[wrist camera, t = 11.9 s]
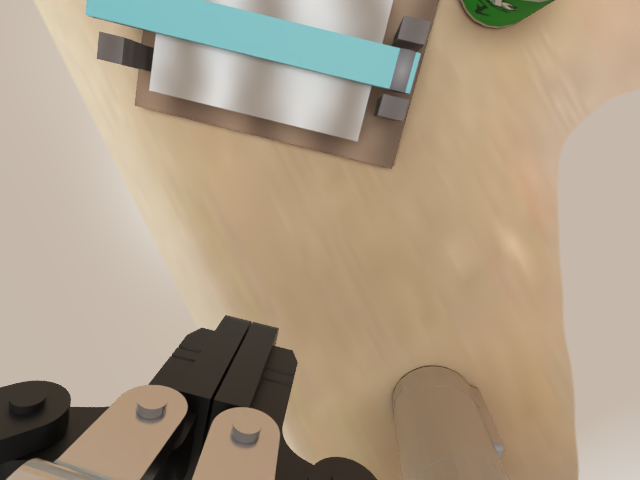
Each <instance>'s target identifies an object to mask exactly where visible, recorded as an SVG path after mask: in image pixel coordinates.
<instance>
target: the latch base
mask: <svg viewBox="0 0 640 480" xmlns="http://www.w3.org/2000/svg"><path fill="white" fill-rule="evenodd" d="M204 1H208V2H213V3H217V4H221V5H225V6H229V7H233V8H237V9H241V10H245V11H249V12H254V13H258V14H262V15H266V16H270V17H274V18H278V19H282V20H286V21H290V22H295V23H299V24H303V25H307V26H311V27H315V28H319V29H323V30H327V31H331V32H336V33H340V34H344V35H348V36H352V37H356V38H360V39H364V40H368V41H372V42H377V43H381V44H385V45H389V46H393V47H397V48H403V49H408V50H412V51H415V52H418V53H421V55H420V59H419V62H418V66H417V70H416V73H415V77H414V80H413V84H412V88H411V91H410V94H404V93H399V92H394V91H391V90H387V89H383V88H379V87H375V86H371V85H367V84H363V83H359V82H355V81H351V80H346V79H342V78H338V77H334V76H330V75H326V74H322V73H318V72H314V71H310V70H306V69H301V68H297V67H293V66H289V65H285V64H281V63H277V62H273V61H269V60H265V59H261V58H256V57H252V56H248V55H244V54H240V53H236V52H232V51H228V50H224V49H220V48H216V47H211V46H207V45H203V44H199V43H195V42H191V41H187V40H183V39H179V38H175V37H171V36H166V35H162V34H158V33H154V32H150V31H146V30H143V36H142V44H141V43H138V42H135V41H132V40H129V39H127V38H124V37H120V36H115V35H111V34H107V33H103V32H99V41H98V53H97V59H101V60H105V61H109V62H113V63H117V64H121V65H125V66H129V67H134V68H138V69H139V72H138V81H137V90H136V99H135V106H139V107H143V108H147V109H151V110H155V111H159V112H163V113H167V114H171V115H175V116H179V117H183V118H187V119H191V120H196V121H200V122H204V123H208V124H212V125H216V126H220V127H224V128H228V129H232V130H236V131H240V132H244V133H248V134H252V135H257V136H261V137H265V138H269V139H273V140H277V141H281V142H285V143H289V144H293V145H297V146H301V147H305V148H309V149H313V150H318V151H322V152H326V153H330V154H334V155H338V156H342V157H346V158H350V159H354V160H358V161H362V162H366V163H370V164H374V165H378V166H383V167H387V168H391V169H392V167H393V163H394V159H395V156H396V152H397V149H398V145H399V141H400V138H401V134H402V131H403V127H404V124H405V120H406V116H407V113H408V109H409V106H410V102H411V99H412V95H413V91H414V88H415V84H416V81H417V77H418V73H419V70H420V66H421V63H422V59H423V56H424V52H425V48H426V45H427V41H428V38H429V34H430V31H431V27H432V23H433V20H434V16H435V13H436V9H437V5H438V2H439V0H204Z"/></svg>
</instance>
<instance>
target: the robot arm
mask: <svg viewBox="0 0 640 480" xmlns="http://www.w3.org/2000/svg"><path fill="white" fill-rule="evenodd" d="M278 330H279V328H275V327H271V326H267V325H263V324H259V323H255V322H253V323H252V322H251V321H247V320H243V319H239V318H235V317H231V316H227V315H226V316H225V317H224V318H223V320H222V321H221V323H220V324H219V326H218V327H217V329H216V330H215V331H213V330H209V329H205V328H200V329H198V330H196V331H194V332H192V333H190V334H189V335H187V336H186V337H185V339H184V340H183V341H182V342H181V344H180V345H179V348H177V349H176V350H175V351H174V353H173V354H172V356H171V357H170V358H169V359H168V360H167V362H166V363H165V364H164V365H163V367H162V368H161V369H160V371H159V372H158V373H157V374H156V376H155V377H154V378H153V380H152V381H151V382H150V383H149V385H145V386H140V387H136V388H133V389H131V390H128V391H127V392H126V393H124V394H122V395H121V396H120V397H119V398H118V399H117V400H116V401H115V402H114V403H113V404H112V405H111V406H110V407H70V401H71V398H70V394H69V392H68V391H67V390H66V389H65V388H64V387H62V386H61V385H58V384H56V383H52V382H47V381H27V382H21V383H16V384H12V385H9V386H5V387H1V388H0V480H377V479H376V478H375V476H374V475H373V474H372V473H371V472H370V471H369V470H368V469H366V468H365V467H364V466H362V465H361V464H359V463H357V462H355V461H353V460H350V459H347V458H342V457H330V458H325V459H323V460H320V461H319V462H318V463H316V464H315V465H312V464H311V463H309V462H307V461H305V460H304V459H302V458H300V457H299V456H298V455H296V454H295V453H294V452H293V451H292V450H291V449H290V448H289V446H288V445H287V444H286V442H285V440H284V437H283V433H282V426H283V421H284V417H285V413H286V409H287V405H288V400H289V396H290V392H291V388H292V384H293V379H294V375H295V371H296V367H297V360H296V358H295V355H294V353H293V351H292V350H288V349H284V348H280V347H277V346H275V344H276V340H277V335H278ZM392 402H393V415H394V420H395V428H396V436H397V444H398V451H399V459H400V466H401V474H402V480H509V479H508V477H507V474H506V472H505V470H504V467H503V465H502V462H501V460H500V459H501V457H502V454H503V452H504V445H503V442H502V440H501V438H500V436H499V434H498V431H497V429H496V427H495V425H494V423H493V421H492V418H491V416H490V414H489V412H488V410H487V407H486V405H485V403H484V401H483V399H482V396H481V394H480V392H479V390H478V388H475V387H472V386H469V385H468V384H467V382H466V381H465V380H464V379H463V378H462V377H461V376H460V375H459V374H457V373H456V372H454V371H452V370H450V369H447V368H443V367H436V366H429V367H422V368H419V369H416V370H414V371H412V372H410V373H408V374H407V375H406V376H404V377H403V378H402V379H401V380H400V381H399V383H398V384H397V386H396V388H395V390H394V393H393V398H392Z"/></svg>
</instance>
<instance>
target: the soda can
mask: <svg viewBox="0 0 640 480" xmlns="http://www.w3.org/2000/svg"><path fill="white" fill-rule="evenodd" d="M553 1H554V0H461V3H462V5H463V7H464V10H465V12H466V13H467V14H468V15H469V16H470V17H471V18H472V19H473V20H474V21H475V22H477V23H479V24H481V25H483V26H485V27H493V28H502V27H506V26H511V25H514V24H515V23H517V22H519V21H521V20H522V19H524V18H526V17H528V16H529V15H531V14H533V13H534V12H536V11H538V10H539V9H541V8H543V7H544V6H546V5H548V4H549V3H551V2H553Z"/></svg>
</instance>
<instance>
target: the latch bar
mask: <svg viewBox="0 0 640 480" xmlns="http://www.w3.org/2000/svg"><path fill="white" fill-rule="evenodd" d="M86 15H88V16H90V17H93V18H97V19H101V20H105V21H109V22H113V23H117V24H121V25H126V26H130V27H134V28H138V29H142V30H146V31H150V32H154V33H158V34H162V35H166V36H171V37H175V38H179V39H183V40H187V41H191V42H195V43H199V44H203V45H207V46H211V47H216V48H220V49H224V50H228V51H232V52H236V53H240V54H244V55H248V56H252V57H256V58H261V59H265V60H269V61H273V62H277V63H281V64H285V65H289V66H293V67H297V68H301V69H306V70H310V71H314V72H318V73H322V74H326V75H330V76H334V77H338V78H342V79H346V80H351V81H355V82H359V83H363V84H367V85H371V86H375V87H379V88H383V89H387V90H391V91H394V92H399V93H404V94H410V91H411V88H412V84H413V80H414V77H415V73H416V70H417V66H418V62H419V59H420V55H421V53H418V52H415V51H412V50H408V49H403V48H397V47H393V46H389V45H385V44H381V43H377V42H372V41H368V40H364V39H360V38H356V37H352V36H348V35H344V34H340V33H336V32H331V31H327V30H323V29H319V28H315V27H311V26H307V25H303V24H299V23H295V22H290V21H286V20H282V19H278V18H274V17H270V16H266V15H262V14H258V13H254V12H249V11H245V10H241V9H237V8H233V7H229V6H225V5H221V4H217V3H213V2H208V1H204V0H87V6H86Z"/></svg>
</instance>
